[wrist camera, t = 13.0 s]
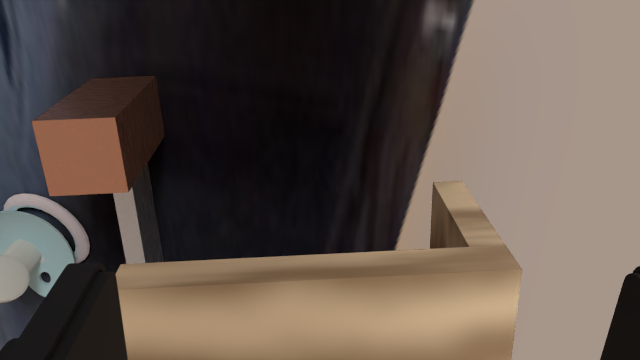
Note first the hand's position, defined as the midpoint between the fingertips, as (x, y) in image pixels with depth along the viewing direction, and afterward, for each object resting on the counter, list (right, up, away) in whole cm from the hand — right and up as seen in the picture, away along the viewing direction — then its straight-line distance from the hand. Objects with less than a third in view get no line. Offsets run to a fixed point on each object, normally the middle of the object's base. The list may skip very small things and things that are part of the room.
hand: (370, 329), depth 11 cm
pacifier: (-20, -1, +30) cm, 36 cm away
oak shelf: (-1, -3, +31) cm, 31 cm away
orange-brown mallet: (-13, 0, +29) cm, 32 cm away
